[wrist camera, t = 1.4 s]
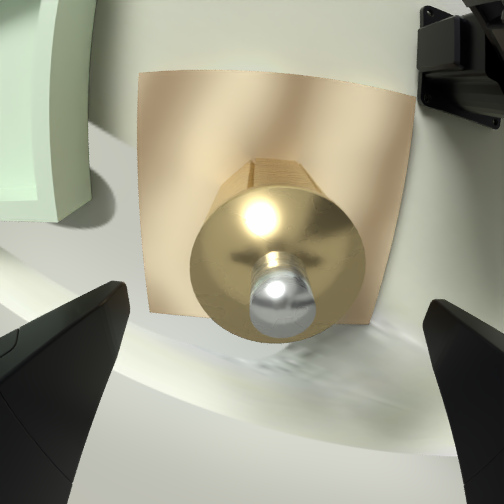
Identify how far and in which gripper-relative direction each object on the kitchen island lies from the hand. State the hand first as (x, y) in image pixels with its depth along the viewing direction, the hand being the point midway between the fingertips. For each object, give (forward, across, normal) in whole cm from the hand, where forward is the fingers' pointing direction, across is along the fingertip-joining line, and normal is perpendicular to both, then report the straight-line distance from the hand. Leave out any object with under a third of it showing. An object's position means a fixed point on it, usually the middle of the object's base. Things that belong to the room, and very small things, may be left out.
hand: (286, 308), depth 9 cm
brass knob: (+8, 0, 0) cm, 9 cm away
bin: (+10, +19, -8) cm, 23 cm away
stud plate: (+10, 0, 0) cm, 10 cm away
